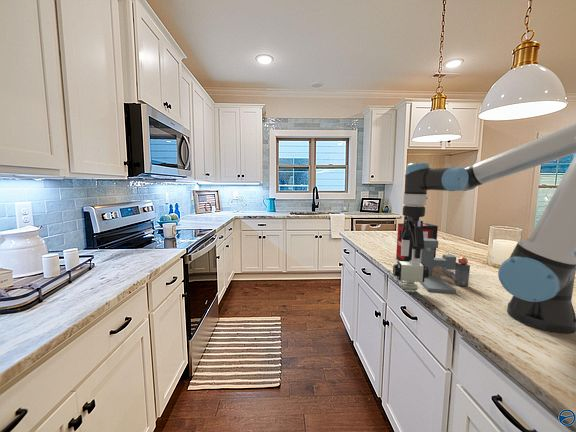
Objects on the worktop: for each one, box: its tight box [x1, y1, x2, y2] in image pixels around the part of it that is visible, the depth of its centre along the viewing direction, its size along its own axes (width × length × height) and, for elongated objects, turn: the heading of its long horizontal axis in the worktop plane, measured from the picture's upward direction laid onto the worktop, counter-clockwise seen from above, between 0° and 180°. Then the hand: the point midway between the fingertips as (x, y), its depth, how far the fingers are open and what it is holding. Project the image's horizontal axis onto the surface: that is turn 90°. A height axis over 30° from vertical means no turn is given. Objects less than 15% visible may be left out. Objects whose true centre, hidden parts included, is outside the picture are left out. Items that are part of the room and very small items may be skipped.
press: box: [419, 238, 457, 294], centre depth 107 cm, size 24×18×17 cm
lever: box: [440, 256, 471, 287], centre depth 112 cm, size 20×4×11 cm, turn 171°
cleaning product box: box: [395, 222, 439, 262], centre depth 136 cm, size 16×9×20 cm, turn 94°
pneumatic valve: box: [392, 260, 429, 293], centre depth 98 cm, size 6×12×12 cm, turn 78°
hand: (409, 260), depth 98 cm, fingers open, 13 cm apart
